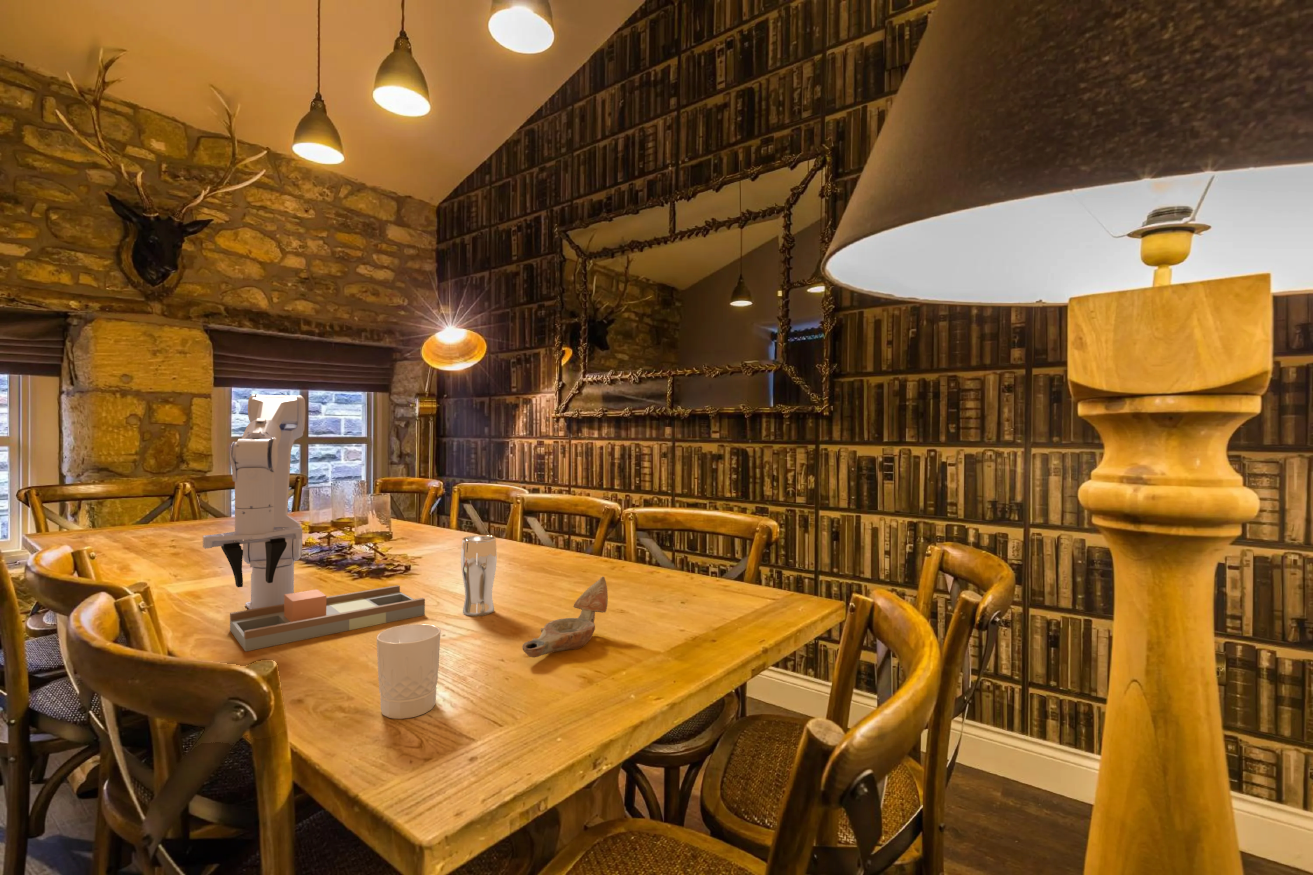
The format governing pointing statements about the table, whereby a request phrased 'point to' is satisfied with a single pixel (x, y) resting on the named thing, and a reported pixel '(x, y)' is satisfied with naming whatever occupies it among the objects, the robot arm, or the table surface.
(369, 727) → the table surface
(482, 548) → the beer glass
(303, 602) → the block
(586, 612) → the oil lamp
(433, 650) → the white cup
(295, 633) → the grey long tray
